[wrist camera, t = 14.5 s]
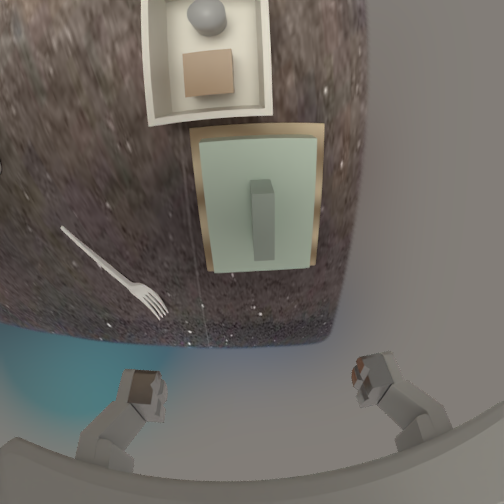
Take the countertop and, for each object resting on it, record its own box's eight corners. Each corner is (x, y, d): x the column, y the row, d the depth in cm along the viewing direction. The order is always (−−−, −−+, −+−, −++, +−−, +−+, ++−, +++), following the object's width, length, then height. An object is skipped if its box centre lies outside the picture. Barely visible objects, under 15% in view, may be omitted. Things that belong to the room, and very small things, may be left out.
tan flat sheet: (314, 263, 37) (315, 265, 36) (207, 269, 36) (207, 271, 36) (323, 123, 27) (324, 123, 27) (189, 127, 27) (189, 128, 26)
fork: (67, 215, 32) (60, 221, 30) (172, 302, 40) (170, 311, 38) (59, 230, 33) (52, 237, 31) (160, 313, 41) (158, 321, 39)
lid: (305, 257, 36) (316, 289, 30) (215, 262, 35) (212, 295, 30) (311, 134, 27) (329, 146, 22) (201, 138, 27) (192, 151, 22)
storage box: (265, 109, 26) (272, 115, 20) (168, 118, 26) (148, 126, 20) (259, -10, 18) (265, -35, 13) (162, 0, 18) (141, -20, 12)
